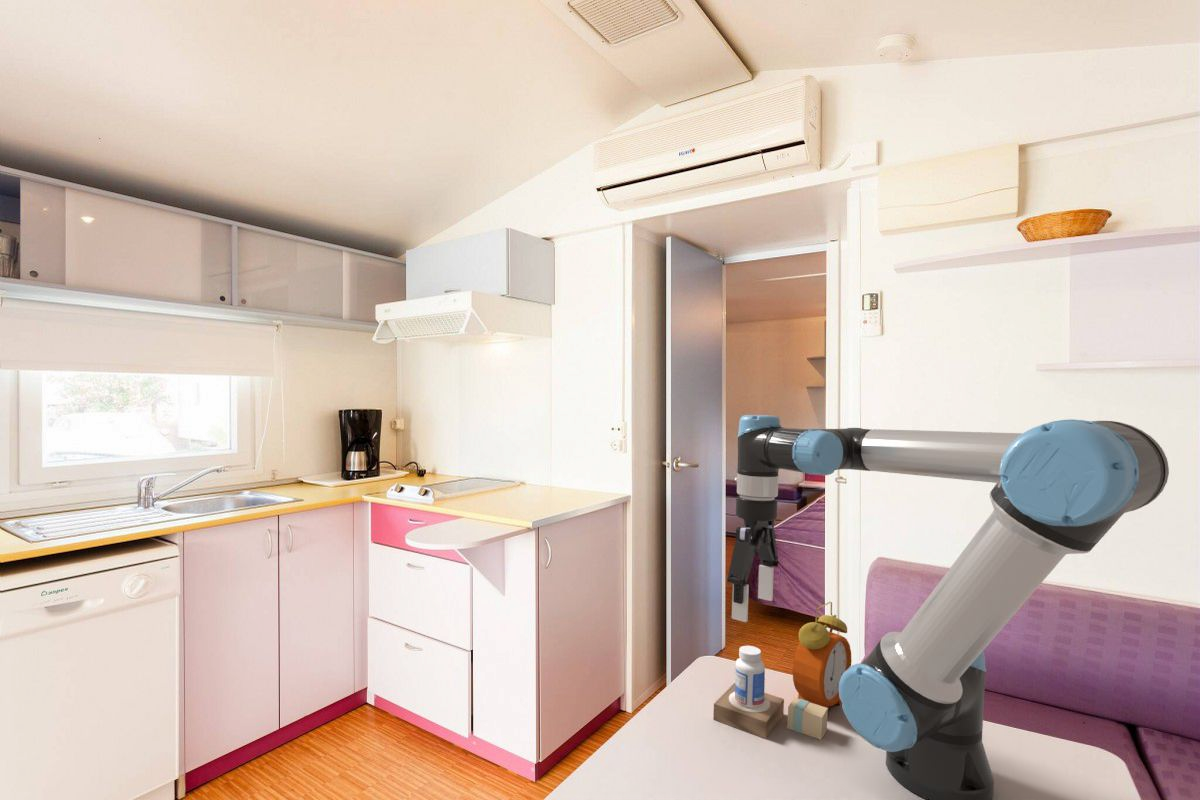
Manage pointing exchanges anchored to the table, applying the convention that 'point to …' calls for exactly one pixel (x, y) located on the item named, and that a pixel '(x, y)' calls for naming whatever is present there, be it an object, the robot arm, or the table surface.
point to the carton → (807, 718)
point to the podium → (749, 713)
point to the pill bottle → (749, 677)
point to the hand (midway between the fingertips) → (753, 609)
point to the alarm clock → (821, 660)
